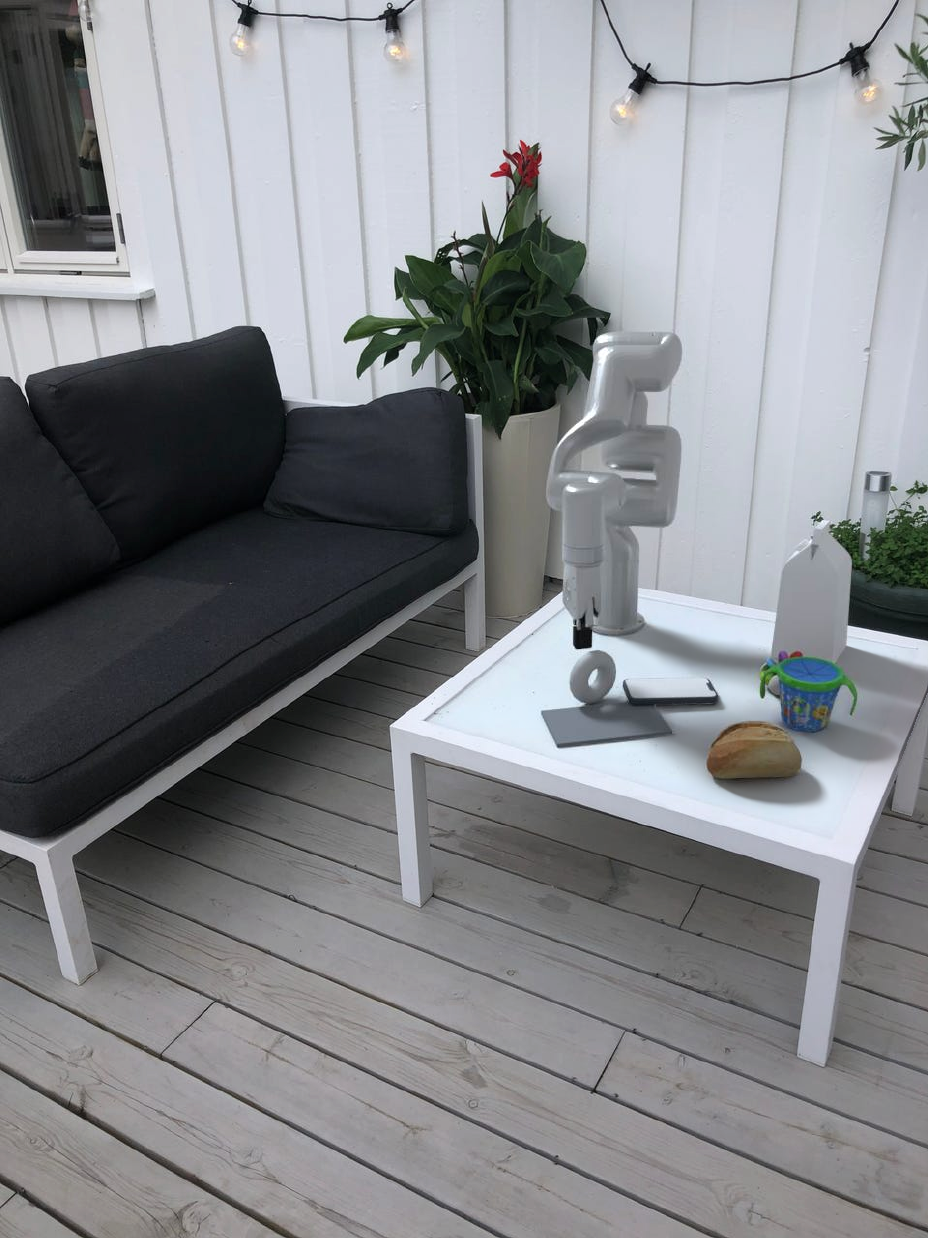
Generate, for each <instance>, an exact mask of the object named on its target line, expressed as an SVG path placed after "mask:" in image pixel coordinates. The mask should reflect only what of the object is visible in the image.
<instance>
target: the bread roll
mask: <svg viewBox="0 0 928 1238" xmlns="http://www.w3.org/2000/svg"><path fill="white" fill-rule="evenodd" d="M802 763H803V758H802V754H801V751H800V749H799V748H798V746H797V744H796V742H795V740H794V739H793V738H792V736H791V734H789V733H788V732H787V731H786V730H785V729H783V728H782V727H780V726H779V725H777V724H774V723H771V722H769V721H768V722H767V721H762V720H747V721H741V722H736V723H733V724H730V725H728V726H727V727H725V729H723V730H722V731H721V732H720V733H719V735H718V736H717V738H716V739H715V740H714V741H713V742H712V744H711V746H710V749H709V753H708V755H707V758H706V763H705V764H706V770H707V772H708V773H709V774H710V775H711V776H712V777H716V778H718V779H742V778H743V779H747V778H751V779H753V778H785V777H787V778H788V777H791V776H794V775H795V774H797V773H798V772H799V771H801V768H802Z"/></svg>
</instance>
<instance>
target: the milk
mask: <svg viewBox="0 0 928 1238" xmlns="http://www.w3.org/2000/svg"><path fill="white" fill-rule="evenodd" d="M830 524H831V523H830V520H824V519H822V520H821V521H820V522H819V523H818V524H817V525H816V526H815V527H814V530H813V534H812V538H811V539H810V540H809V539H808V538H805V539H804V540H802V541H800V542H799V544H797V545H796V546H795V548H794V549H795V550H796V551H794V553H793V554H792V555H791V556H790V557H789V558H788V559H787V561H786V562H784V564H783V568H782V571H781V578H780V584H779V593H778V599H777V607H776V615H775V621H774V622H775V623H774V631H773V638H772V643H771V644H772V646H771V652H770V653H771V654H770V658H772V659H773V658H774V659H778V660H779V653H780V651H785V652H786V653H787V655H788V657H789V656H790V655H791V654H792V653H793V652H795V651H799V652H801V653H802V655H803V657H813V658H819V659H823V660H826V661H829V662H832V663H834V664H836V663H837V661H838V659H839V658H840V656H841V655H842V653H843V652H844V650H845V648H846V647H847V639H848V627H849V626H848V624H849V613H850V612H849V611H850V610H849V609H850V608H849V607H850V597H851V595H850V594H851V582H852V581H851V580H852V568H853V566H852V565H853V562H852V560H853V559H852V557H851V555H850V554H849V552H848V551H847V549H845V547H843V546H842V545H841V544H840V543H839V541H837V539H836V538H835V537H834V536H833V535H832V534H831V533H830Z"/></svg>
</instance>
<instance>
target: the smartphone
mask: <svg viewBox="0 0 928 1238" xmlns="http://www.w3.org/2000/svg"><path fill="white" fill-rule="evenodd" d="M622 689H623V692H624V694H625V696H626V699H627V702H629V703H630V704H632V705H655V706H656V705H657V706H659V705H660V706H662V705H665V706H667V705H703V704H704V705H705V704H706V705H708V704H710V705H714V704H716V703H718V702H719V694H718V692H717V690H716V688H715V686H714V685H713V683H712V682H711V680H710V679H709V678H707V677H663V678H660V677H659V678H658V677H657V678H654V677H653V678H626V679H624V680H623V681H622Z"/></svg>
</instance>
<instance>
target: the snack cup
mask: <svg viewBox="0 0 928 1238" xmlns="http://www.w3.org/2000/svg"><path fill="white" fill-rule="evenodd" d="M771 672H775V673H776V674H777V675H778V678H779V684H780V695H779V702H780V715H781V720H782V721H783V723H784V724H785V725H787V727H788V728H790V729H794V730H796V731H801V732H804V731H806V732H810V733H815V732H817V731H821V730H823V729H824V728H826V727H827V726H828V724H829V722H830V718H831V715H832V712H833V709H834V706H835V701H836V698H837V696H838V694H839V692H840V690H841V687H842V686H847V687H848V689H849V691H850V692H851V693H850V694H851V695H852V697H853V701H852V706H851V709H850V712H849V715H850V716H853V713H854V712H855V709H856V707H857V702H858V690H857V688H856V684H854V682H853V680H852V679H851V678H850V677H848V676H847V675H846V674H845V673H844V671H843V669H842V668H841V667H840V666H839V665H837V664H836V663H835V664H834V663H832V662H829V661H826V660H823V659H819V658H813V657H793V658H788V659H785V660H783V661H782V662H780V663H779V662H778V663H777V664H776V665H774V666H772V667H770V668H769V669H768V670H767V671H766V672H765V674H764V676H763V677H762V680H760V684H759V697H760V699H764V698H765V697H766V684H765V678H766V676H767V675H768V674H769V673H771Z"/></svg>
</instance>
